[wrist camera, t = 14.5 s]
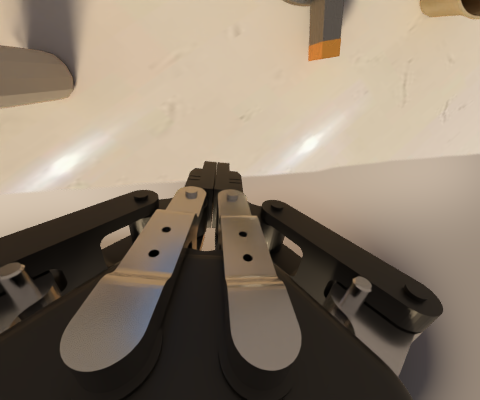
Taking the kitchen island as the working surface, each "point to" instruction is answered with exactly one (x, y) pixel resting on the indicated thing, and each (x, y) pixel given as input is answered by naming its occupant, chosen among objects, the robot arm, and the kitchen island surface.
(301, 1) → the housing
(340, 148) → the kitchen island surface
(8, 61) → the water bottle
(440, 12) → the flower pot
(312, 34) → the segmented ring on plate
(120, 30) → the kitchen island surface
